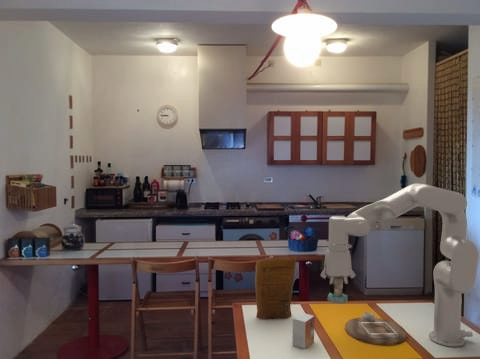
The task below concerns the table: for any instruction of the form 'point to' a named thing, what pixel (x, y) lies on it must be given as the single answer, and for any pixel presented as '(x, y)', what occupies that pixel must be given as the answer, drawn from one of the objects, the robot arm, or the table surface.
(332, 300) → the gear
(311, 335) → the small box
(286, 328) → the table surface
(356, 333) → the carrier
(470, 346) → the table surface
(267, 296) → the pancake mix bag
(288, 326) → the table surface
